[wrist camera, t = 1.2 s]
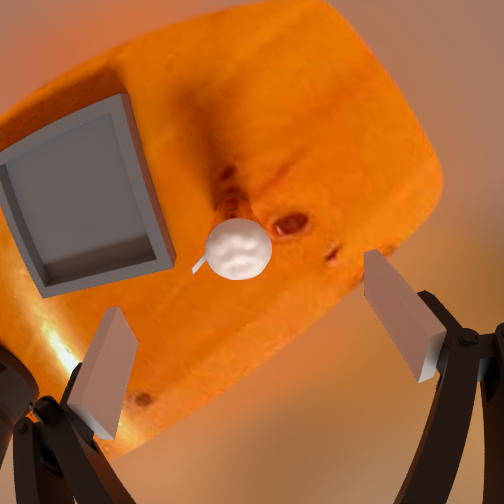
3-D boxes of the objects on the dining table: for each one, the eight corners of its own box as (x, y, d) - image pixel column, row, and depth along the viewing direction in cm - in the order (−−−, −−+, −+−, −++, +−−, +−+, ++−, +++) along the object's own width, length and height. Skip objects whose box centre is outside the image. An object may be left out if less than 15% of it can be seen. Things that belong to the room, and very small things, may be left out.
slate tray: (51, 286, 30) (42, 298, 28) (-1, 156, 23) (-14, 161, 20) (176, 256, 30) (173, 268, 28) (128, 94, 22) (120, 93, 20)
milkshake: (195, 194, 27) (183, 239, 18) (255, 184, 27) (272, 224, 18) (205, 239, 29) (199, 301, 20) (261, 231, 29) (279, 288, 20)
